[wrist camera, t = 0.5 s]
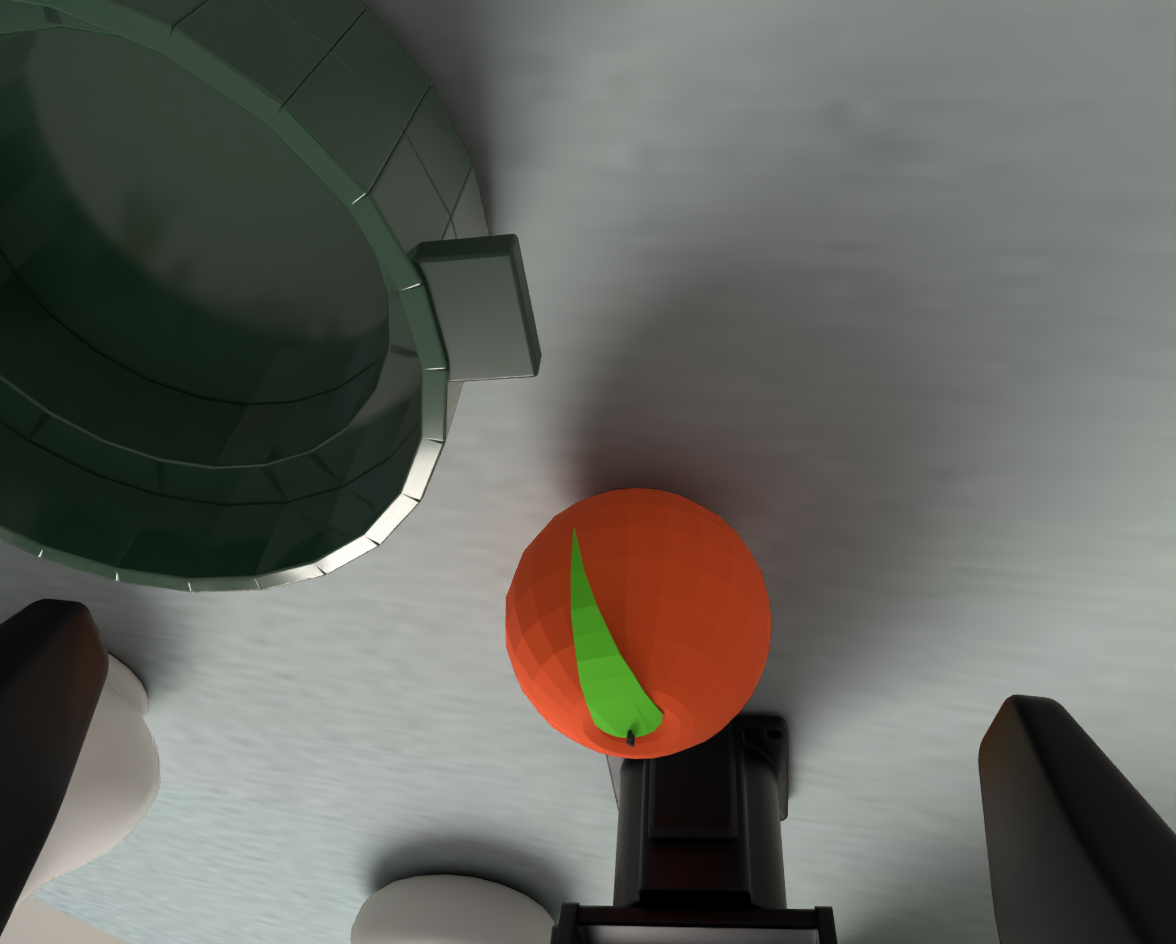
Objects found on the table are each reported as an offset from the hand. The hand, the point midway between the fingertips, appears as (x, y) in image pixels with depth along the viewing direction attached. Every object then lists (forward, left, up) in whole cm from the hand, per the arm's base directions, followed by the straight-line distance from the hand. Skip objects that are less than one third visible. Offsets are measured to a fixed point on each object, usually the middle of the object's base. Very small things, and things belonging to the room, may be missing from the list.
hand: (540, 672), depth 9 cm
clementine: (-11, +1, -14) cm, 18 cm away
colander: (-1, +10, -14) cm, 17 cm away
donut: (-37, +12, -14) cm, 41 cm away
